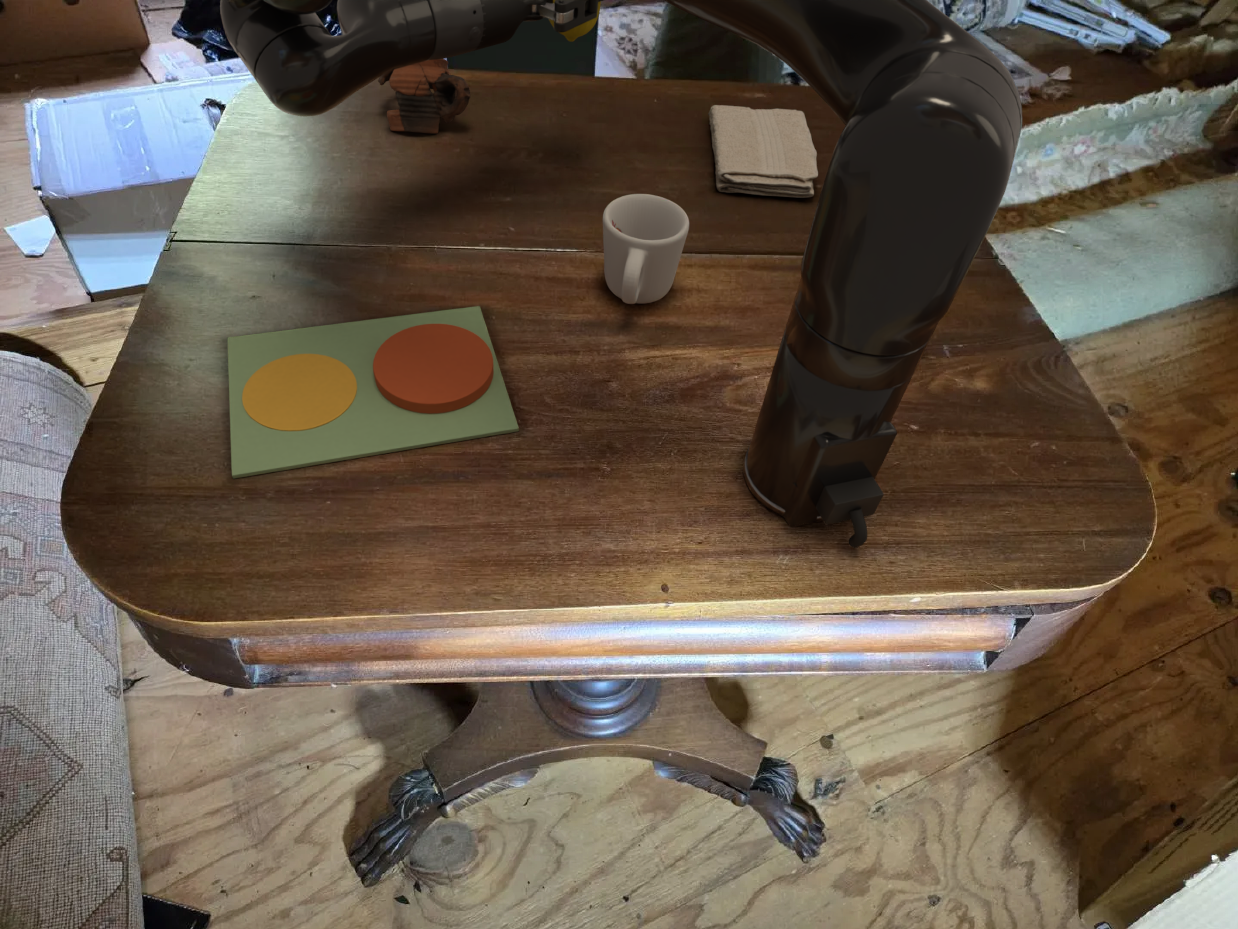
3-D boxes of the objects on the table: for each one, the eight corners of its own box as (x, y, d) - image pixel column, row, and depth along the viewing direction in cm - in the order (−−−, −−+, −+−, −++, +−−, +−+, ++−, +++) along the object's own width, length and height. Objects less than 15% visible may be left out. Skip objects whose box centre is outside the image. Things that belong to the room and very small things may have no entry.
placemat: (518, 431, 70) (518, 418, 69) (232, 478, 64) (227, 465, 63) (479, 309, 80) (479, 295, 78) (228, 340, 74) (223, 326, 73)
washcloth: (715, 196, 96) (720, 171, 93) (704, 118, 108) (708, 94, 105) (818, 204, 97) (826, 179, 94) (796, 125, 108) (803, 102, 106)
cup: (665, 339, 79) (677, 268, 73) (582, 322, 80) (587, 250, 74) (683, 271, 86) (695, 201, 80) (606, 256, 87) (612, 186, 81)
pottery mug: (364, 132, 99) (358, 54, 96) (412, 136, 107) (408, 64, 105) (452, 132, 95) (449, 50, 92) (495, 136, 103) (493, 61, 101)
